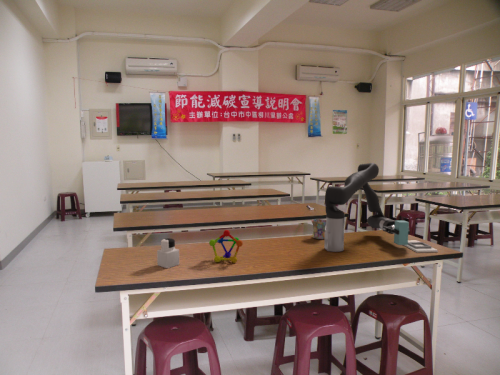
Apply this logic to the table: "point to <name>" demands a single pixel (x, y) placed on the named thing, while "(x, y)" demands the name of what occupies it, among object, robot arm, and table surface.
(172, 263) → the grey block with knob
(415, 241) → the baseplate
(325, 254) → the table surface
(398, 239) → the pillar
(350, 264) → the table surface
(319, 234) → the mug
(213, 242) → the educational toy
